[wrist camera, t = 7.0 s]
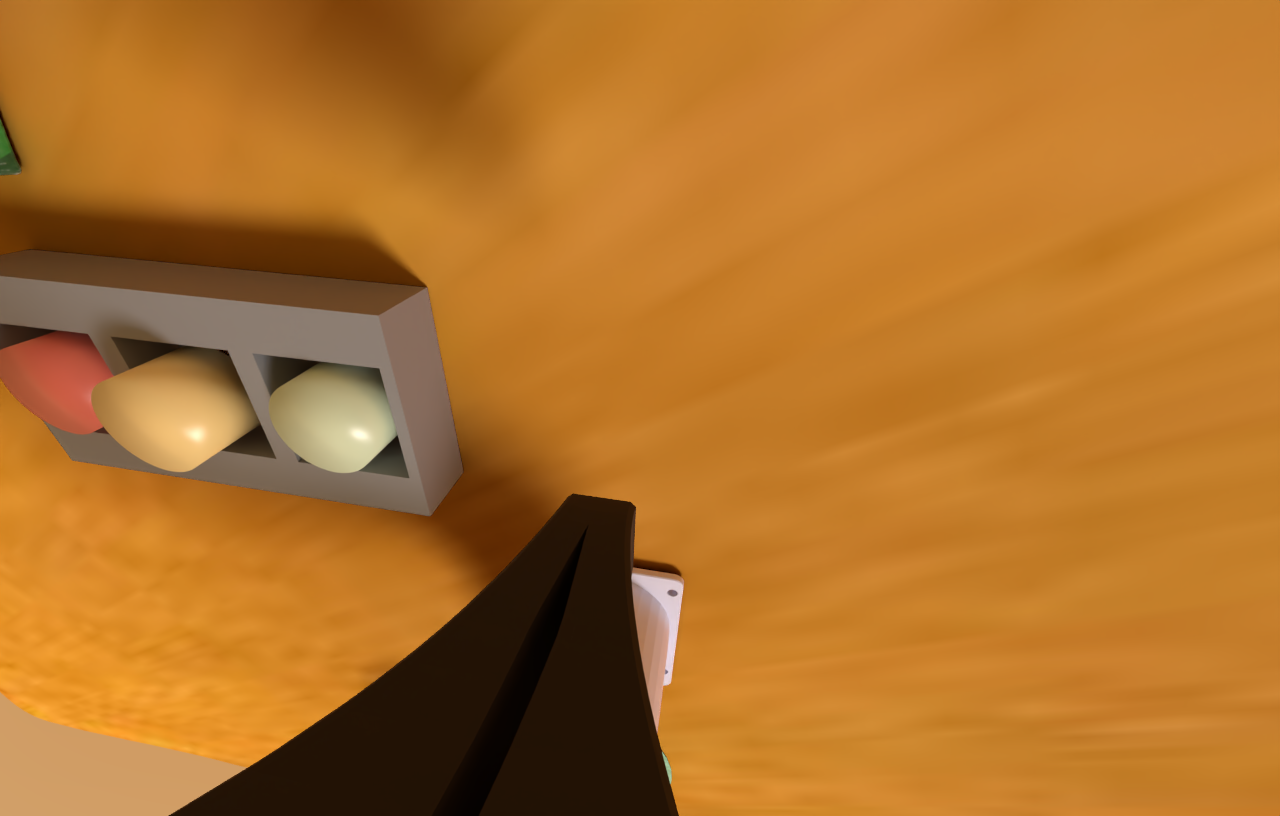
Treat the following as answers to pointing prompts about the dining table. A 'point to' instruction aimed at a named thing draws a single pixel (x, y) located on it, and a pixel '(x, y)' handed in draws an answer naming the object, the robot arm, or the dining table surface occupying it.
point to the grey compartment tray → (253, 361)
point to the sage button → (334, 416)
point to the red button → (56, 378)
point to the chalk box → (7, 155)
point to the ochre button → (176, 408)
